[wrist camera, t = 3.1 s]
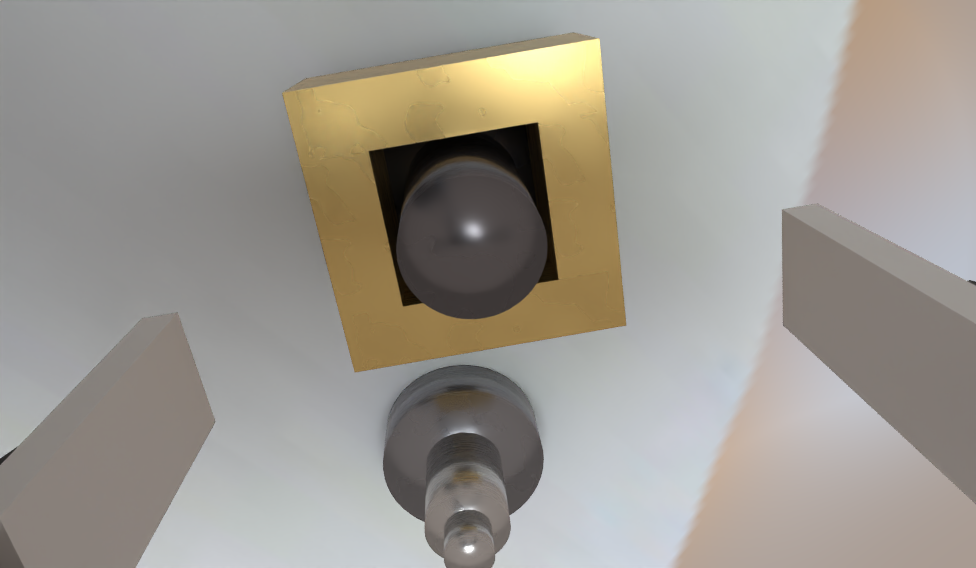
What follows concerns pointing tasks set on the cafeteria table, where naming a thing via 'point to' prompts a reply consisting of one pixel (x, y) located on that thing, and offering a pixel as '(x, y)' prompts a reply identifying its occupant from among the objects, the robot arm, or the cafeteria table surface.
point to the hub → (463, 460)
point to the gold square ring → (447, 113)
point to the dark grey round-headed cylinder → (468, 221)
